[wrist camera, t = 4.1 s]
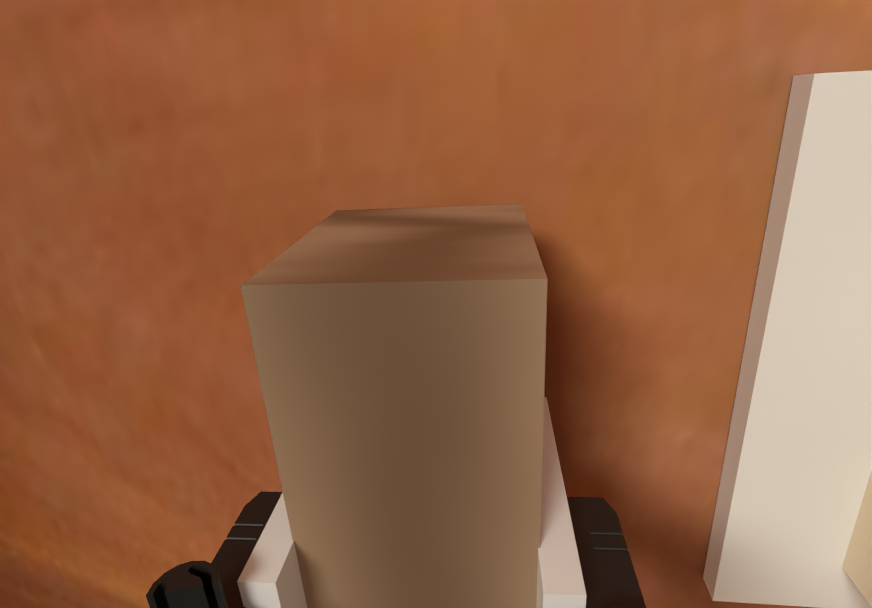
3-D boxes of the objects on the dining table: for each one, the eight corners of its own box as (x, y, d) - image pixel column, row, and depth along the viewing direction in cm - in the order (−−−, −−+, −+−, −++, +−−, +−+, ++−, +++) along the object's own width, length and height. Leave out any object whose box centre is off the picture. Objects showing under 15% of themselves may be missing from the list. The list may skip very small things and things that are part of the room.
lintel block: (382, 584, 19) (341, 781, 14) (336, 210, 14) (240, 285, 9) (518, 589, 19) (532, 796, 13) (521, 203, 14) (547, 278, 8)
